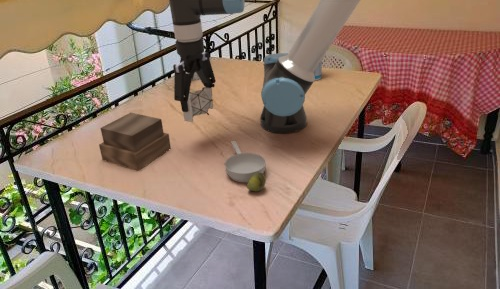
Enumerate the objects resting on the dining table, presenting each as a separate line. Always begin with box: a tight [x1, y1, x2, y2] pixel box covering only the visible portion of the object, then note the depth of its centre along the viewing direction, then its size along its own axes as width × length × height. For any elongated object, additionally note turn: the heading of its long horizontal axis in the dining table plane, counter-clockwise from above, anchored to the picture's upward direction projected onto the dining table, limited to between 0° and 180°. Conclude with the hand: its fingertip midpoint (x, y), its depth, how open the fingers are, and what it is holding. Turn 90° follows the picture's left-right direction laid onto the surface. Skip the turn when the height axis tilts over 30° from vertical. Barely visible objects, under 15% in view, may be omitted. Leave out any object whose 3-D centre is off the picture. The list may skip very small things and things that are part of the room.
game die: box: [188, 86, 214, 117], centre depth 123 cm, size 9×8×10 cm
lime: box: [246, 172, 266, 192], centre depth 104 cm, size 4×5×5 cm
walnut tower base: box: [98, 112, 172, 171], centre depth 123 cm, size 14×14×10 cm
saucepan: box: [224, 140, 267, 183], centre depth 115 cm, size 11×18×4 cm, turn 17°
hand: (199, 114), depth 125 cm, fingers closed on game die, 9 cm apart
